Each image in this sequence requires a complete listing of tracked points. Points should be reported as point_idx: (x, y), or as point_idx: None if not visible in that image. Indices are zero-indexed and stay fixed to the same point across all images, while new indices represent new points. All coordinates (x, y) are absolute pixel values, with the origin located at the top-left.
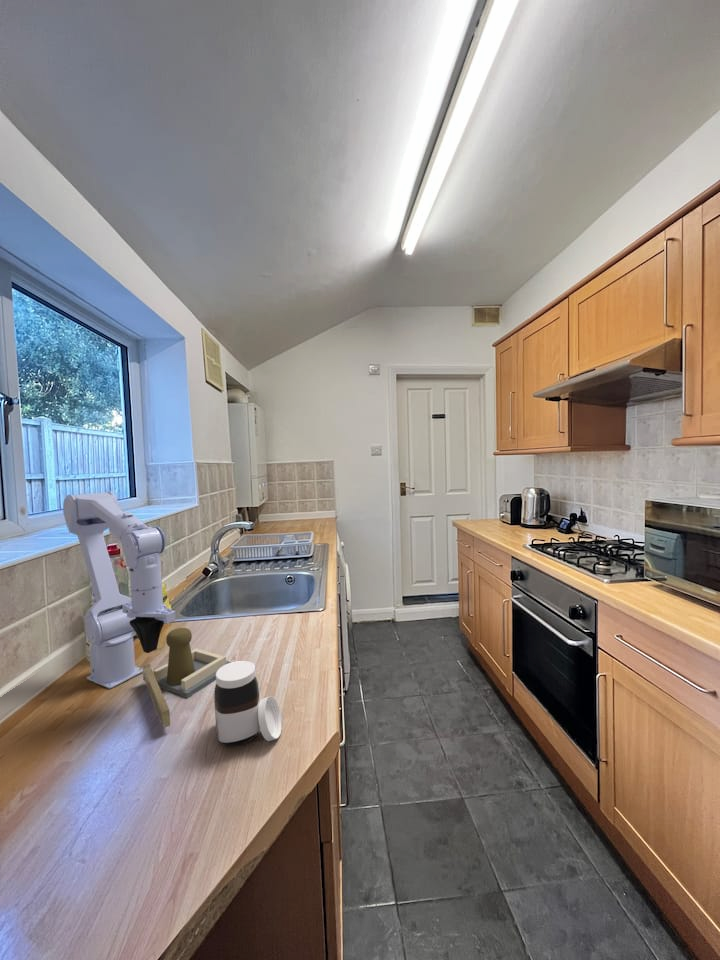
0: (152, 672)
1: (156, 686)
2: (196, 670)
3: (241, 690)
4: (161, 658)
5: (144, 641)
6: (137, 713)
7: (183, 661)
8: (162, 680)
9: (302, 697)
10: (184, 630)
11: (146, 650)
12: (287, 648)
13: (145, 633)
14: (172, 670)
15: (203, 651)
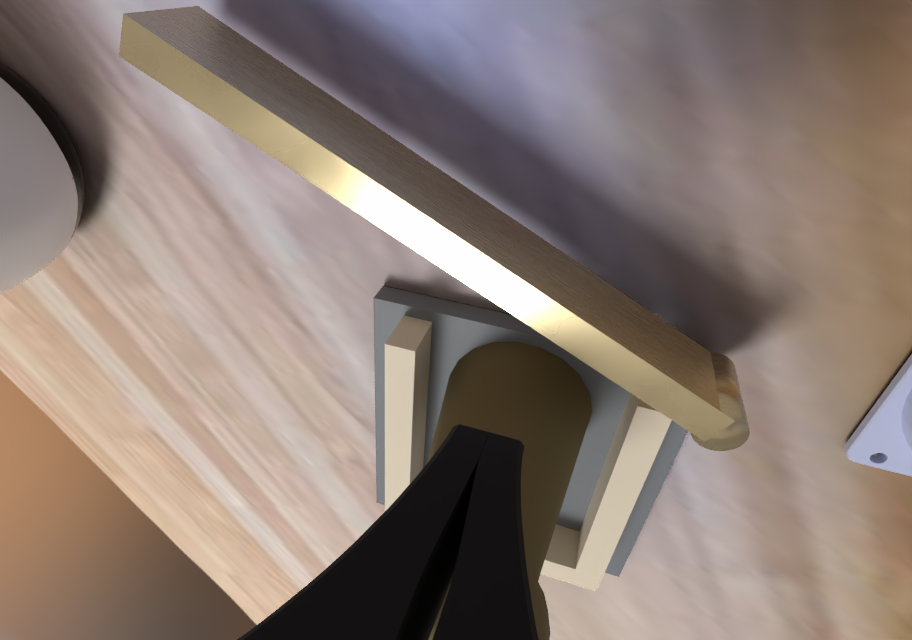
0: (600, 370)
1: (423, 242)
2: None
3: None
4: (826, 553)
5: (405, 526)
6: (529, 108)
7: (432, 456)
8: None
9: (45, 355)
10: None
11: (452, 442)
12: (311, 578)
13: (259, 629)
14: (493, 403)
15: None
